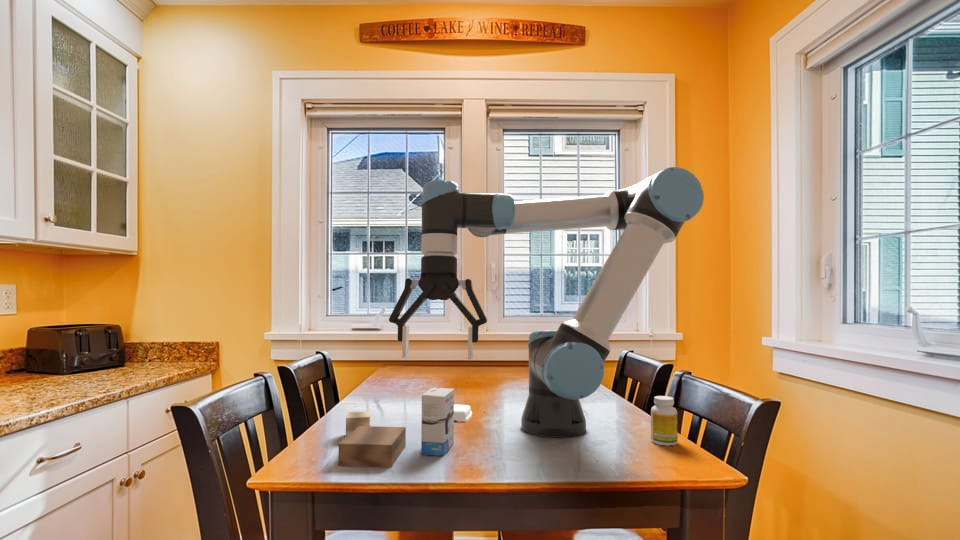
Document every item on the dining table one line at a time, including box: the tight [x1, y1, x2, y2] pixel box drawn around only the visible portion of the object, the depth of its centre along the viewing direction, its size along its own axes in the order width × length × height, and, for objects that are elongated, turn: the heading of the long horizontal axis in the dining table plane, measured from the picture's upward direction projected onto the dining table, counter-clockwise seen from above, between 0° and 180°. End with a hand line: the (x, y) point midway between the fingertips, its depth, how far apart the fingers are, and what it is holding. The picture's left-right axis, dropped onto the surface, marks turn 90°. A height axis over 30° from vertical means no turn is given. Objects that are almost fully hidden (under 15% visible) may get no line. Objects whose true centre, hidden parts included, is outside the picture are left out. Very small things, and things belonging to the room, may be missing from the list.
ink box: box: [420, 387, 455, 457], centre depth 101 cm, size 8×5×12 cm, turn 168°
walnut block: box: [337, 425, 407, 468], centre depth 96 cm, size 10×12×4 cm
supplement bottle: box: [650, 395, 679, 447], centre depth 106 cm, size 5×5×10 cm
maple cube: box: [345, 410, 371, 438], centre depth 109 cm, size 5×5×5 cm
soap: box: [454, 403, 473, 423], centre depth 127 cm, size 9×7×3 cm
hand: (437, 358), depth 101 cm, fingers open, 13 cm apart
